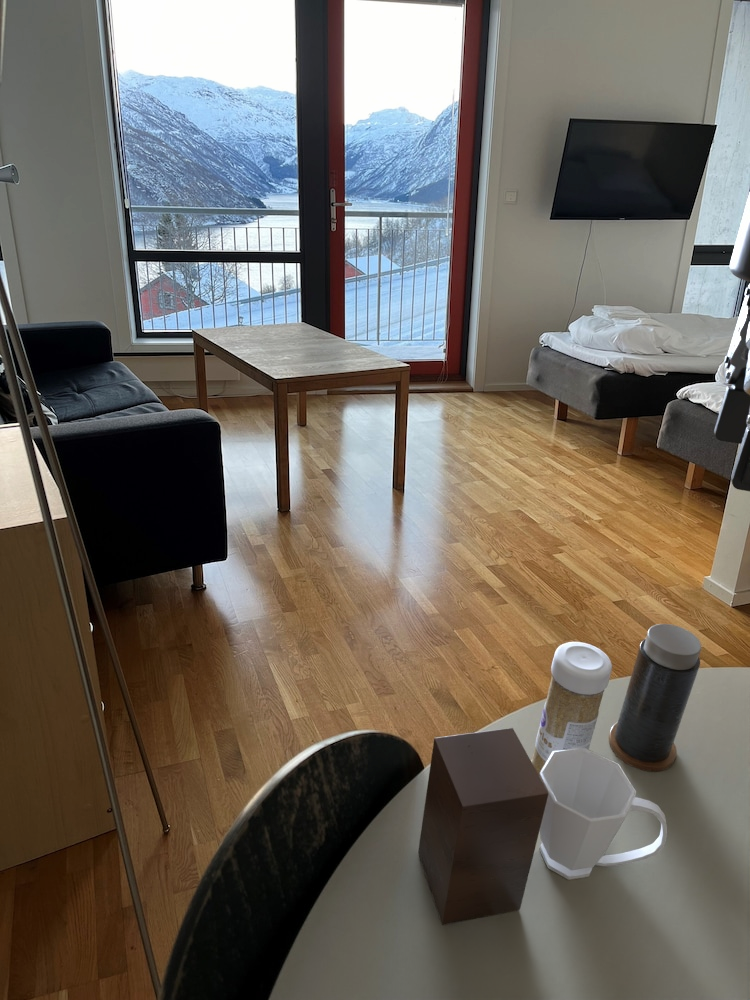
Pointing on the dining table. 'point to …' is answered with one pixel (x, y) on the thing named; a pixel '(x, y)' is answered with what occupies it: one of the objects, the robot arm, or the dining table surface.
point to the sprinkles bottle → (572, 700)
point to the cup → (588, 813)
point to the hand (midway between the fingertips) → (738, 462)
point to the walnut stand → (480, 824)
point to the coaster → (637, 763)
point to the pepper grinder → (658, 692)
